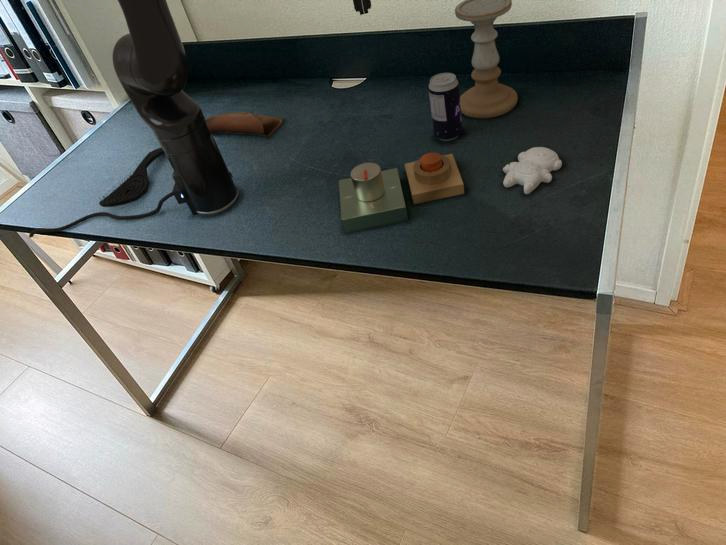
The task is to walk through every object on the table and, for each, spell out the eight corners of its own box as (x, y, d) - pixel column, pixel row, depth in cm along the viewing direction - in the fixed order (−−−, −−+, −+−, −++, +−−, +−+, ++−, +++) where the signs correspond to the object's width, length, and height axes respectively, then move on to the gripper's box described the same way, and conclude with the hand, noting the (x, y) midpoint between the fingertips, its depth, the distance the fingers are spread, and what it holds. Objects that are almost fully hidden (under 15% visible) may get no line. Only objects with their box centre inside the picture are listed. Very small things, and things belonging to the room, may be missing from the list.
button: (423, 174, 93) (422, 165, 92) (420, 163, 96) (419, 154, 95) (443, 169, 93) (442, 161, 92) (440, 158, 96) (439, 150, 94)
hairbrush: (175, 137, 125) (119, 199, 108) (182, 151, 128) (127, 214, 110) (146, 140, 128) (86, 201, 110) (153, 154, 130) (95, 215, 112)
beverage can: (462, 142, 105) (457, 84, 96) (433, 144, 106) (425, 87, 98) (463, 126, 108) (459, 70, 100) (435, 129, 110) (429, 73, 102)
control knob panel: (345, 233, 92) (341, 219, 90) (342, 193, 101) (338, 179, 98) (408, 220, 91) (405, 205, 89) (399, 181, 100) (397, 166, 97)
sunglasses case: (284, 118, 126) (269, 103, 120) (277, 145, 125) (261, 131, 119) (224, 116, 134) (208, 102, 128) (217, 141, 133) (199, 128, 127)
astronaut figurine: (490, 183, 93) (489, 169, 91) (529, 149, 98) (529, 134, 96) (534, 199, 88) (534, 184, 86) (573, 162, 93) (574, 147, 91)
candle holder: (528, 94, 112) (529, -7, 98) (498, 123, 107) (495, 20, 93) (477, 86, 119) (471, -10, 105) (446, 113, 114) (436, 15, 100)
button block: (413, 204, 94) (410, 186, 91) (406, 173, 101) (403, 155, 98) (464, 194, 93) (462, 175, 90) (453, 163, 100) (451, 144, 97)
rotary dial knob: (355, 187, 96) (349, 164, 92) (383, 181, 95) (378, 158, 92) (356, 204, 92) (350, 181, 89) (386, 198, 91) (381, 175, 88)
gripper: (382, -127, 79) (400, -4, 91) (296, -104, 81) (325, 14, 92) (387, -119, 74) (405, 10, 86) (295, -95, 75) (325, 29, 87)
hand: (363, 12), depth 89 cm, fingers closed
